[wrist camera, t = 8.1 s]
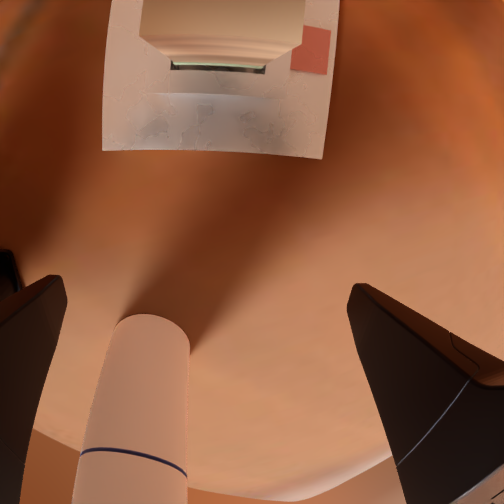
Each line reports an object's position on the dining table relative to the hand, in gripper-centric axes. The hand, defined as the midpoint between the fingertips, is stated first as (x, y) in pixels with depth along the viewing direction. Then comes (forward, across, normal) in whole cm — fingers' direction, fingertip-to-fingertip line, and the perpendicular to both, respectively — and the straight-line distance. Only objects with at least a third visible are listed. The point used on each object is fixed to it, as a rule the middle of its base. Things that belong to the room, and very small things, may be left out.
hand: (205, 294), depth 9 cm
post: (+9, 0, -9) cm, 12 cm away
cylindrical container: (+13, +5, +15) cm, 21 cm away
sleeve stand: (+13, 0, -9) cm, 16 cm away
